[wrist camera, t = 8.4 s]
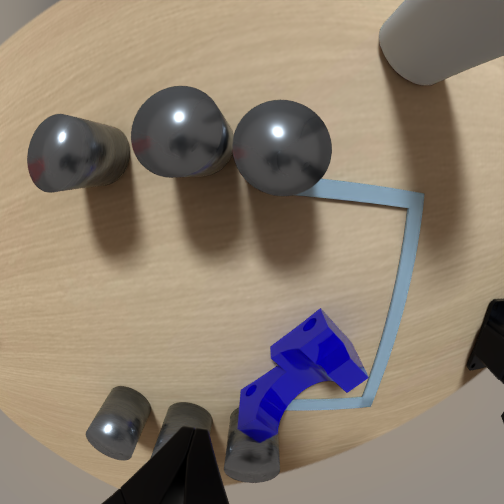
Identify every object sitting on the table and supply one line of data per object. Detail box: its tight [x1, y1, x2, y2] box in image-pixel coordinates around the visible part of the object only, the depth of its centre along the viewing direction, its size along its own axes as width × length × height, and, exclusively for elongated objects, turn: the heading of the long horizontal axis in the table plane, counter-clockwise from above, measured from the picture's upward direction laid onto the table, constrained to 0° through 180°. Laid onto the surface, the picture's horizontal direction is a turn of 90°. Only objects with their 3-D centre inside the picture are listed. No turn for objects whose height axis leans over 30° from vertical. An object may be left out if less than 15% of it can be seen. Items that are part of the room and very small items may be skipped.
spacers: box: [27, 86, 332, 483], centre depth 15 cm, size 14×23×5 cm, turn 177°
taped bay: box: [286, 179, 424, 410], centre depth 17 cm, size 8×16×1 cm, turn 177°
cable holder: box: [237, 308, 369, 443], centre depth 16 cm, size 8×4×4 cm, turn 133°
